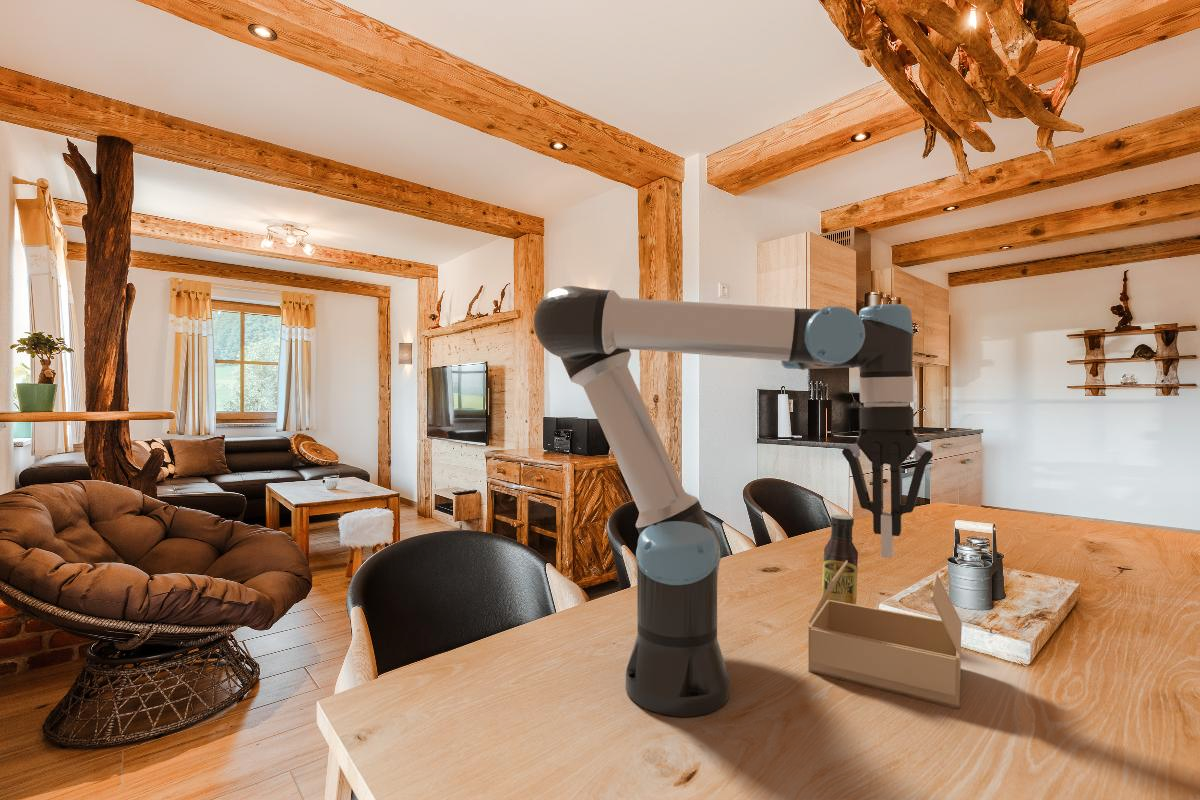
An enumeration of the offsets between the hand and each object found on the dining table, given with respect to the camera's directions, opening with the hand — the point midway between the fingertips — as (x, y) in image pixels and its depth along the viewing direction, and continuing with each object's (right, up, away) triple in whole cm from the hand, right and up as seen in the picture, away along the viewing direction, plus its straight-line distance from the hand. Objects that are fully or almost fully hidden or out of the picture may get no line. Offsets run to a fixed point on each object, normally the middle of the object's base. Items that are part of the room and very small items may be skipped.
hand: (887, 555), depth 90 cm
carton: (0, -18, 0) cm, 18 cm away
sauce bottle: (+1, -18, +21) cm, 28 cm away
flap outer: (+8, -11, -5) cm, 14 cm away
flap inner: (-9, -11, +6) cm, 15 cm away
